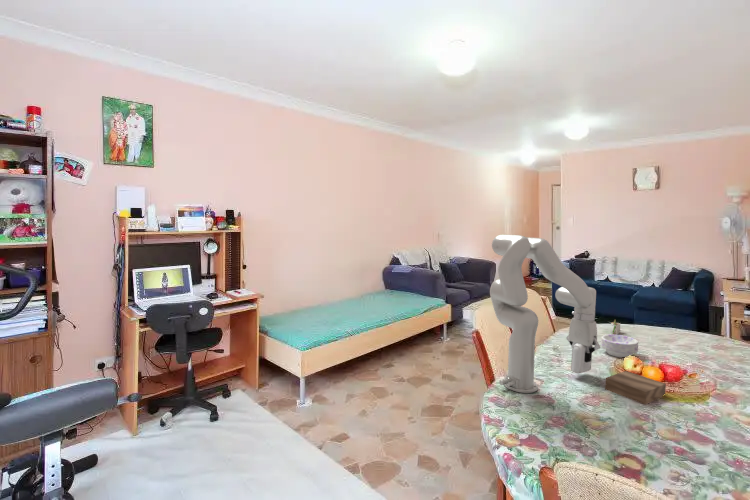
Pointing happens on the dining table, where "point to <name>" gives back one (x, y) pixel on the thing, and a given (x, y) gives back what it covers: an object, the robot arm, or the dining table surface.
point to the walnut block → (635, 387)
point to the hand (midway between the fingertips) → (581, 359)
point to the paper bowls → (619, 345)
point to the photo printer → (579, 359)
